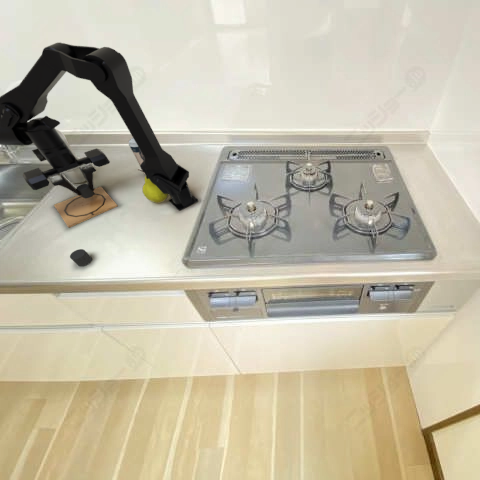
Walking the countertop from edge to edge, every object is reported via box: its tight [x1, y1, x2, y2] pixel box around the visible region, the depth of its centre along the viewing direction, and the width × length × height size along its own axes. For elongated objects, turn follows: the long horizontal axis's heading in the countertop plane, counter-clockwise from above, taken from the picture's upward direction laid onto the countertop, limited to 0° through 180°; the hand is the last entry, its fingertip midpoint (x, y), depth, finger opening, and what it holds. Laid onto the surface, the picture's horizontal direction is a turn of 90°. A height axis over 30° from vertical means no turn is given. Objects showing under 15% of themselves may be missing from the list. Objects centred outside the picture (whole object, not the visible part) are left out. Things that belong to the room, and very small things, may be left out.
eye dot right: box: [75, 183, 95, 198], centre depth 83 cm, size 3×3×3 cm
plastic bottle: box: [35, 116, 87, 184], centre depth 85 cm, size 6×7×20 cm
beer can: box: [128, 137, 145, 175], centre depth 92 cm, size 5×5×12 cm
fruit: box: [137, 168, 170, 204], centre depth 82 cm, size 7×7×12 cm
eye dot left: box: [69, 248, 93, 268], centre depth 69 cm, size 3×3×3 cm
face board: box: [53, 185, 118, 229], centre depth 83 cm, size 13×13×1 cm
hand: (86, 192), depth 83 cm, fingers closed on eye dot right, 3 cm apart
